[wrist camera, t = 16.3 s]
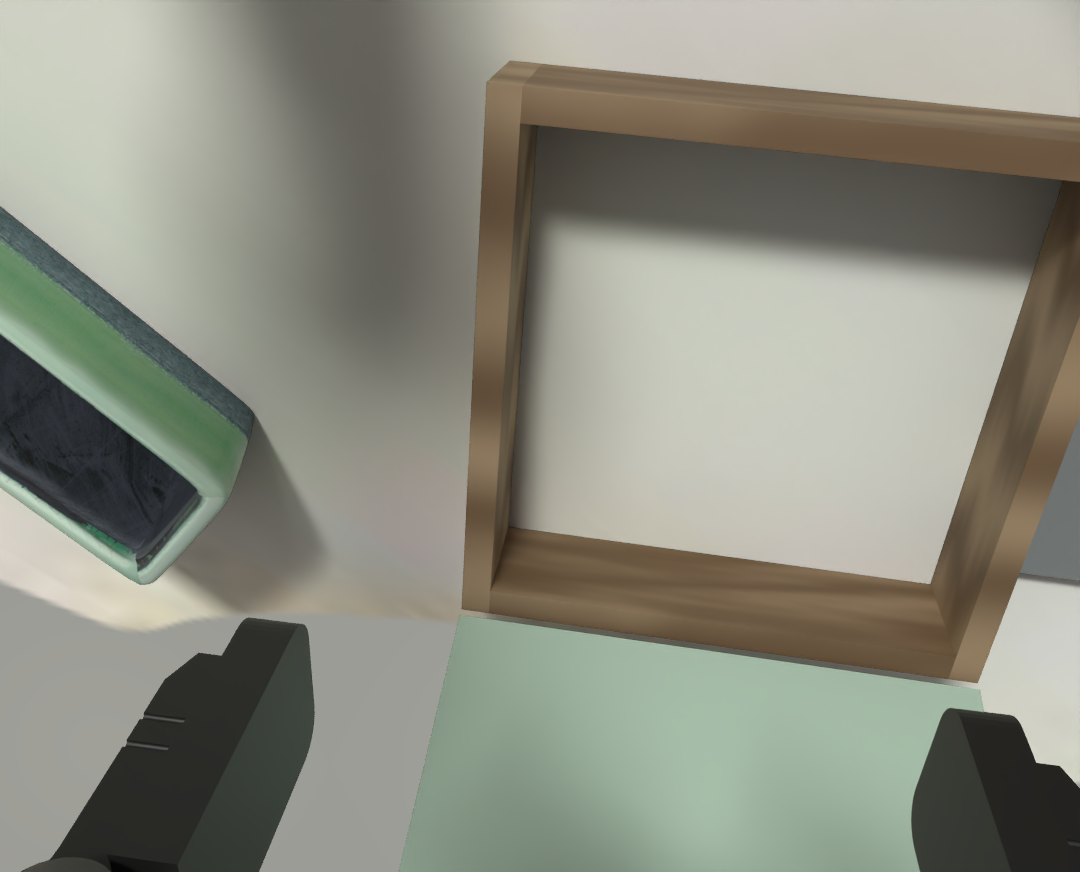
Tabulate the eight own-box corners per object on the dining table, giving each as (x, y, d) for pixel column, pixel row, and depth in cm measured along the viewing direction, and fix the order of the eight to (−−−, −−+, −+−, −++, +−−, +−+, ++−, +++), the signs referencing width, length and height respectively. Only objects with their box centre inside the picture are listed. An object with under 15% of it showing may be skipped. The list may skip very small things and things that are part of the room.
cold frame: (510, 60, 37) (486, 82, 33) (1118, 121, 35) (1179, 152, 31) (482, 544, 48) (461, 609, 43) (950, 609, 46) (977, 683, 42)
